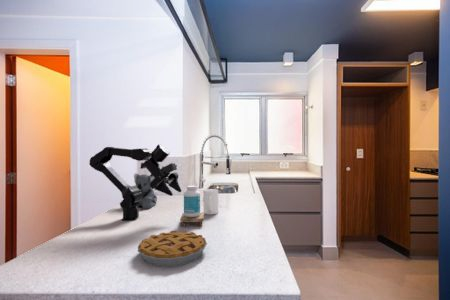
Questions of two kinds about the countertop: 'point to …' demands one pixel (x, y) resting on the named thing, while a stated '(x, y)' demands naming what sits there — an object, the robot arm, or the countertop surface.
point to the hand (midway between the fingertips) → (176, 193)
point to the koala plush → (145, 190)
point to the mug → (210, 201)
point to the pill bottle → (191, 202)
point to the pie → (172, 248)
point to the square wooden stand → (192, 219)
